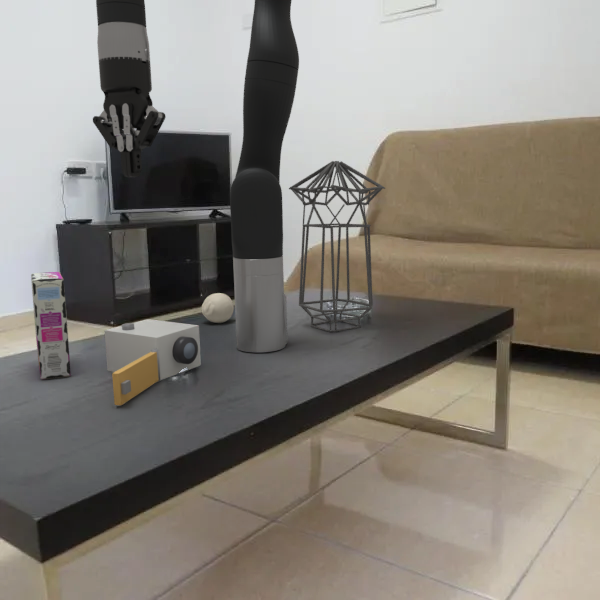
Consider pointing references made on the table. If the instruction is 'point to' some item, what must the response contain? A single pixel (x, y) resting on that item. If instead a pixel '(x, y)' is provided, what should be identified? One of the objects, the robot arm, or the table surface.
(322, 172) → the geometric lantern
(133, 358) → the block
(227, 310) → the cream round ball
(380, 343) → the table surface
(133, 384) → the side door
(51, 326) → the candy bar box
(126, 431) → the table surface
